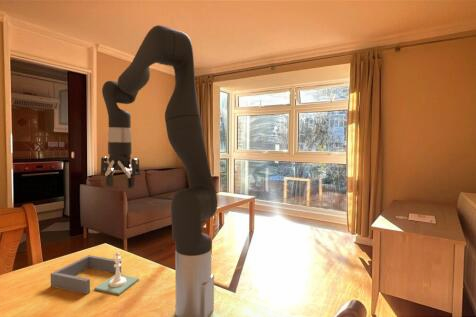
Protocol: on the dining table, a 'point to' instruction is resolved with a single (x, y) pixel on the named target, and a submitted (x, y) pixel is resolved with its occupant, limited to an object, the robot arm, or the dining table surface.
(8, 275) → the dining table surface
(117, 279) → the chess piece
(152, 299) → the dining table surface
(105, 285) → the mat
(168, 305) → the dining table surface
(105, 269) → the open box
